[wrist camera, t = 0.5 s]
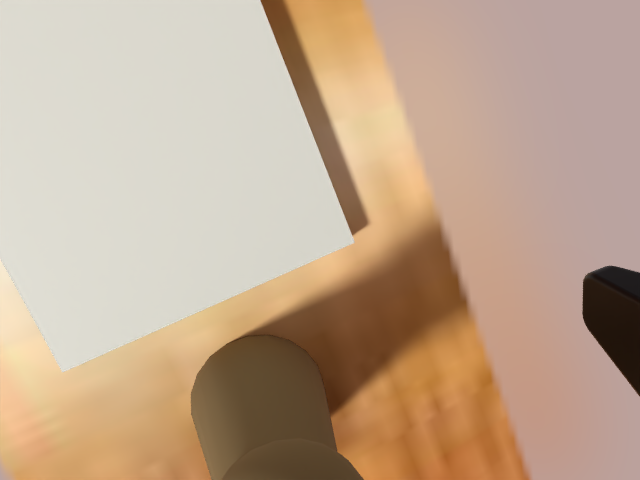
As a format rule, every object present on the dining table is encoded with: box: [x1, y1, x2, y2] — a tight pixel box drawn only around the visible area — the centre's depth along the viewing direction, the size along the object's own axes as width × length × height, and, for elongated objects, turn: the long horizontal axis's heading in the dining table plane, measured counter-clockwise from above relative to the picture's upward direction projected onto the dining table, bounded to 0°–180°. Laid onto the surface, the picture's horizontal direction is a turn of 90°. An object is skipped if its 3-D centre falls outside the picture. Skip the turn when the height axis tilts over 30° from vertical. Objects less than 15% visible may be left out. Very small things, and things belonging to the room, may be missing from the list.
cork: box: [191, 335, 364, 480], centre depth 22 cm, size 6×6×11 cm
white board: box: [0, 0, 355, 372], centre depth 23 cm, size 18×13×1 cm
